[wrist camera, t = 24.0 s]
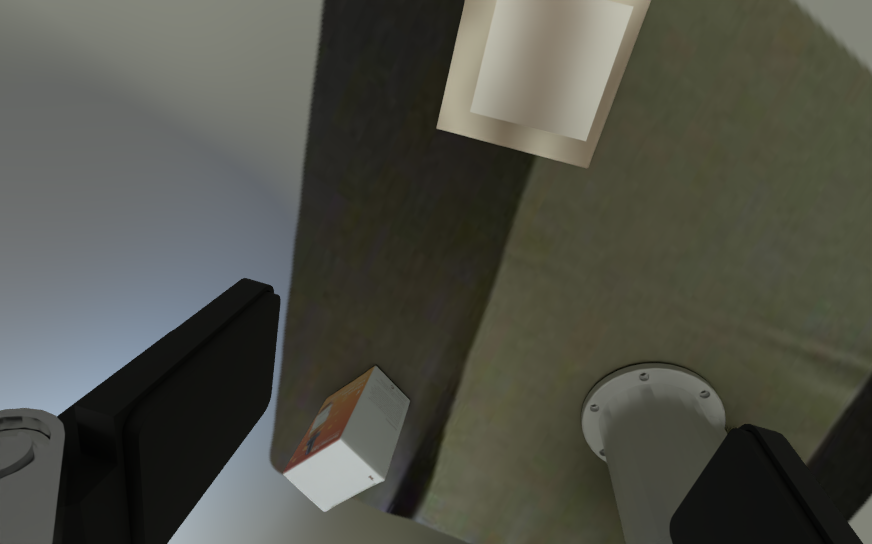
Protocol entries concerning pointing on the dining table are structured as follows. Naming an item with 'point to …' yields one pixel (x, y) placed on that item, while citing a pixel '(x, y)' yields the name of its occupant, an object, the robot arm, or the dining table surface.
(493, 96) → the cream block
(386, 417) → the small box
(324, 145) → the dining table surface
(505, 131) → the board
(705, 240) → the dining table surface
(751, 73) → the dining table surface
